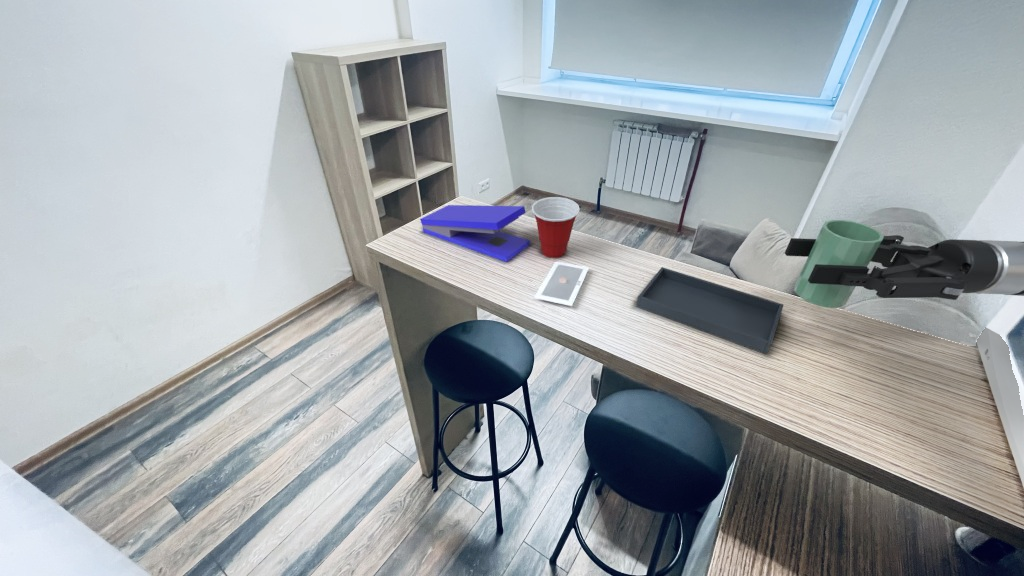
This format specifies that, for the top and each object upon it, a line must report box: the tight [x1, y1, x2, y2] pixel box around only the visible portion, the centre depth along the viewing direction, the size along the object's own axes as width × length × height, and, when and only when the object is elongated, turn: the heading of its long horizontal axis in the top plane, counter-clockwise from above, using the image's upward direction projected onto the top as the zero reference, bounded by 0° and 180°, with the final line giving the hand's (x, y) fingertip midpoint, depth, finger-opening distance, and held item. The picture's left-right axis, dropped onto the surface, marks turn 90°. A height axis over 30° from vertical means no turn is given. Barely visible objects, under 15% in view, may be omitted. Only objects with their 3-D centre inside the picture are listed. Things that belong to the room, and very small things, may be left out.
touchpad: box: [533, 260, 590, 307], centre depth 86 cm, size 8×15×2 cm, turn 158°
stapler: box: [420, 204, 531, 263], centre depth 102 cm, size 12×28×10 cm, turn 55°
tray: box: [635, 266, 784, 355], centre depth 78 cm, size 23×13×2 cm, turn 54°
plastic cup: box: [531, 196, 581, 259], centre depth 95 cm, size 11×11×12 cm
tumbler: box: [793, 219, 885, 309], centre depth 60 cm, size 7×7×11 cm
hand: (800, 259), depth 60 cm, fingers closed on tumbler, 7 cm apart
